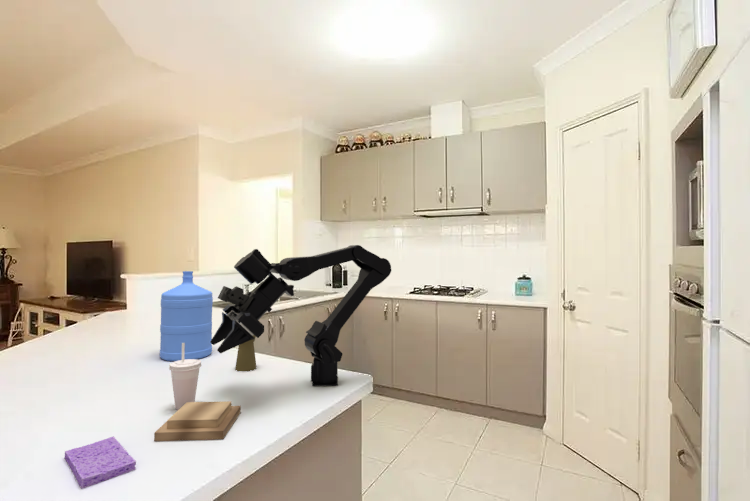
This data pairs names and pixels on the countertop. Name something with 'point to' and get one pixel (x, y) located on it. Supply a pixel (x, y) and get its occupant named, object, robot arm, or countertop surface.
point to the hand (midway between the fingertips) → (215, 347)
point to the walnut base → (198, 431)
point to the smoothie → (184, 379)
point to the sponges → (99, 461)
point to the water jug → (186, 321)
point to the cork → (246, 356)
